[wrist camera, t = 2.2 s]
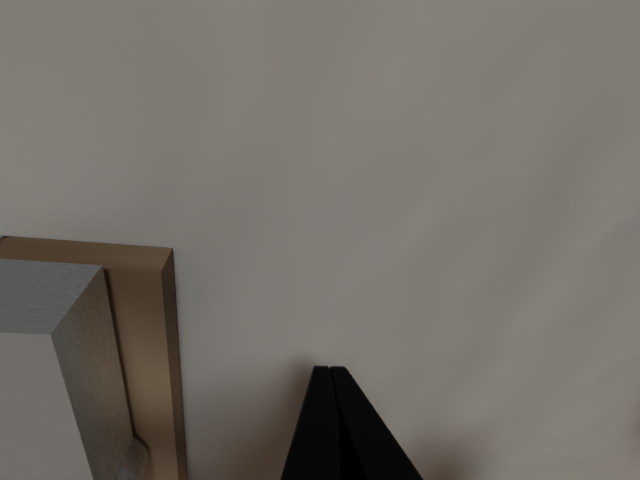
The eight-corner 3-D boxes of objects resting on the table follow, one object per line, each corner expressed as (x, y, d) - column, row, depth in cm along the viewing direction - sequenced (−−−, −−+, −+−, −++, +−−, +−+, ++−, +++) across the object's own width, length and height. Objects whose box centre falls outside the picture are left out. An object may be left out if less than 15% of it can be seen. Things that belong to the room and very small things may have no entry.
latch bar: (151, 478, 14) (119, 588, 11) (60, 480, 14) (4, 594, 11) (119, 266, 9) (50, 368, 7) (-23, 257, 9) (-162, 362, 6)
